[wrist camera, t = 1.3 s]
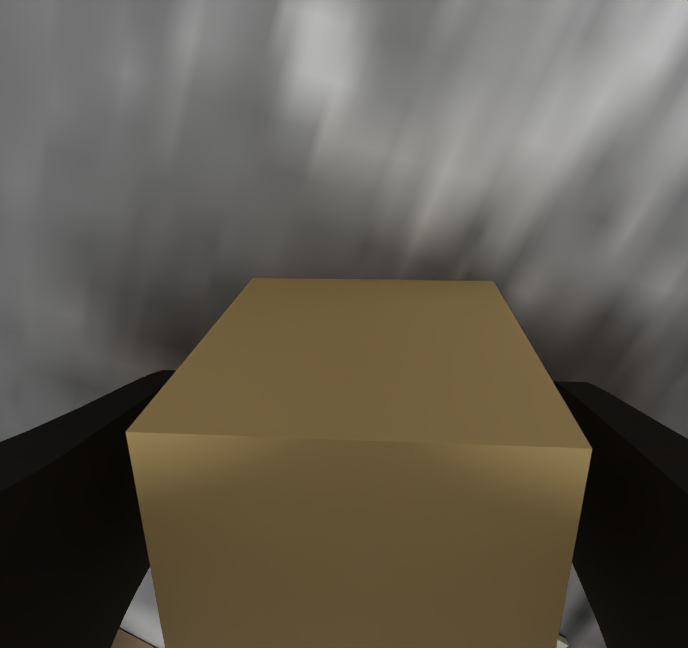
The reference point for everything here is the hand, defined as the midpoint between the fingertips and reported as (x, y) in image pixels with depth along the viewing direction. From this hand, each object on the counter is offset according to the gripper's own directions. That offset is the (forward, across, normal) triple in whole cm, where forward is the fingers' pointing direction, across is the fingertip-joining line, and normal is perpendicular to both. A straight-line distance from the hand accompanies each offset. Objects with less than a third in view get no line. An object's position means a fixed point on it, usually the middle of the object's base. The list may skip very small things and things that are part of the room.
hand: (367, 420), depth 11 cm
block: (+2, 0, 0) cm, 2 cm away
